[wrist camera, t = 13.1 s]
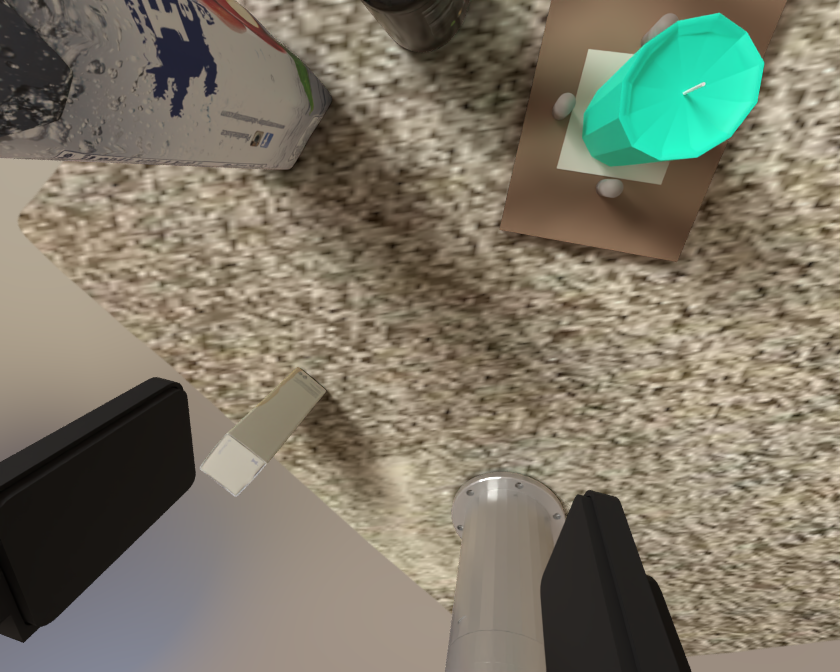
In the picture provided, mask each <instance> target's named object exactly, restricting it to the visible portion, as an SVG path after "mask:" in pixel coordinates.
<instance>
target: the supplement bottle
mask: <svg viewBox="0 0 840 672" xmlns="http://www.w3.org/2000/svg"><path fill="white" fill-rule="evenodd" d="M469 1H470V0H361V2H362V3H363V4H364V5H365V6H366V8H367V9H368V10H369V11H370V13H371V14H372V15H373V16H374V17H375V19H376V20H377V21H378V22H379V24H380V25H381V26H382V27H383V28H384V30H385V31H386V32H387V33H388V34H389V36H390V37H391V38H392V39H393V40H394V41H395V42H396V43H397V44H399V45H400V46H402V47H403V48H405V49H407V50H410V51H413V52H429V51H433V50H435V49H438V48H440V47H441V46H443V45H444V44H446V43H447V42H448V41H449V40H451V38H452V37H453V36H454V35H455V34H456V33H457V31H458V30H459V28H460V27H461V25H462V23H463V21H464V18H465V16H466V13H467V10H468V6H469Z"/></svg>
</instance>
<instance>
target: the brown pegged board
mask: <svg viewBox="0 0 840 672" xmlns="http://www.w3.org/2000/svg"><path fill="white" fill-rule="evenodd" d="M786 2H787V0H551V4H550V8H549V13H548V17H547V22H546V26H545V31H544V35H543V39H542V44H541V48H540V53H539V57H538V61H537V66H536V70H535V75H534V79H533V84H532V88H531V92H530V97H529V101H528V106H527V110H526V114H525V119H524V123H523V128H522V132H521V137H520V141H519V145H518V150H517V154H516V159H515V163H514V167H513V172H512V176H511V181H510V185H509V190H508V194H507V198H506V203H505V207H504V212H503V216H502V220H501V225H500V230H504V231H509V232H515V233H520V234H526V235H531V236H537V237H543V238H548V239H554V240H559V241H565V242H570V243H576V244H581V245H587V246H592V247H598V248H603V249H609V250H614V251H620V252H625V253H631V254H636V255H642V256H648V257H653V258H659V259H664V260H670V261H675V262H677V261H678V259H679V256H680V254H681V252H682V249H683V247H684V244H685V242H686V240H687V237H688V235H689V232H690V230H691V228H692V225H693V223H694V221H695V218H696V216H697V213H698V211H699V209H700V206H701V204H702V202H703V199H704V197H705V194H706V192H707V190H708V187H709V185H710V183H711V180H712V178H713V175H714V173H715V171H716V168H717V166H718V164H719V161H720V159H721V156H722V154H723V152H724V149H725V147H726V144H727V142H728V140H729V139H727V140H725V141H724V142H722V143H720V144H719V145H717V146H715V147H714V148H712V149H710V150H709V151H707V152H706V153H704V154H702V155H701V156H699V157H697V158H689V159H680V160H671V161H662V162H654V163H645V164H636V165H625V166H613V167H610V166H608V165H606V164H604V163H602V162H600V161H598V160H597V159H595V158H593V157H592V156H591V155H590V153H589V151H588V149H587V147H586V145H585V143H584V141H583V139H582V131H583V117H584V113H585V111H586V109H587V107H588V106H589V104H590V102H591V100H592V99H593V97H594V95H595V94H596V92H597V91H598V90H599V89H600V88H601V87H602V86H603V85H604V84H605V83H606V82H607V81H608V80H609V79H610V78H611V77H612V76H613V75H614V74H615V73H616V72H617V71H618V70H619V69H620V68H621V67H622V66H623V65H624V64H625V63H626V62H627V61H628V60H629V59H630V58H631V57H632V56H633V55H634V54H635V53H636V52H637V51H638V50H639V49H640V48H641V47H642V46H643V45H644V44H645V43H647V42H648V41H650V40H651V39H653V38H654V37H655V36H657V35H658V34H660V33H661V32H663V31H664V30H665V29H667V28H668V27H670V26H671V25H673V24H674V23H675V22H677V21H680V20H685V19H690V18H695V17H701V16H706V15H711V14H716V13H721V14H722V15H724V16H725V17H726V18H728V19H729V20H731V21H732V22H734V23H735V24H736V25H738V26H739V27H741V28H742V29H744V30H745V31H746V32H747V33H748V35H749V36H750V38H751V40H752V42H753V43H754V45H755V47H756V49H757V51H758V52H759V54H760V56H761V58H762V59H763V57H764V54H765V52H766V49H767V47H768V45H769V42H770V40H771V37H772V35H773V33H774V30H775V28H776V26H777V23H778V21H779V18H780V16H781V14H782V11H783V9H784V7H785V4H786Z"/></svg>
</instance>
